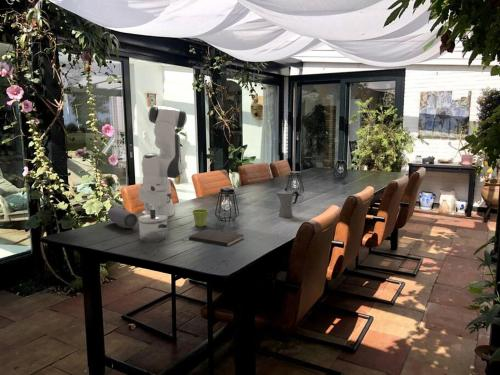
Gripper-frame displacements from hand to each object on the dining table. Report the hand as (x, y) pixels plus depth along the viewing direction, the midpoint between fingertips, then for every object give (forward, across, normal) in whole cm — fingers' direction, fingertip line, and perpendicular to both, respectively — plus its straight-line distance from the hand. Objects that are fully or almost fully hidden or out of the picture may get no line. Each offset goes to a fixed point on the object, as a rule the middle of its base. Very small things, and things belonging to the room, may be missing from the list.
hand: (152, 212), depth 208 cm
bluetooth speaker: (+14, -33, +1) cm, 36 cm away
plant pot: (+14, -2, +33) cm, 36 cm away
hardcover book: (+14, +25, +21) cm, 36 cm away
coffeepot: (+14, +19, +87) cm, 90 cm away
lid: (+3, 0, 0) cm, 3 cm away
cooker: (+13, 0, 0) cm, 13 cm away
